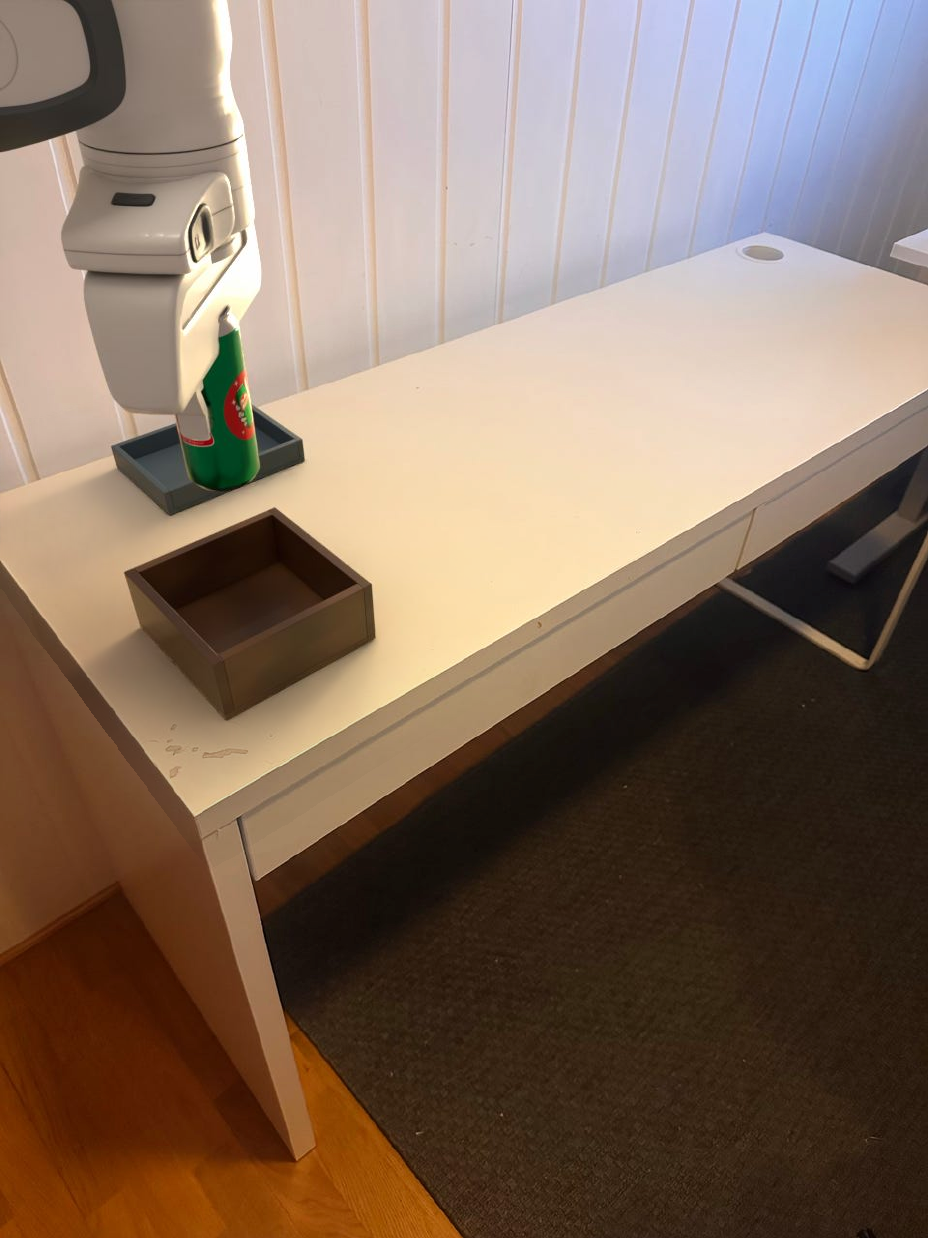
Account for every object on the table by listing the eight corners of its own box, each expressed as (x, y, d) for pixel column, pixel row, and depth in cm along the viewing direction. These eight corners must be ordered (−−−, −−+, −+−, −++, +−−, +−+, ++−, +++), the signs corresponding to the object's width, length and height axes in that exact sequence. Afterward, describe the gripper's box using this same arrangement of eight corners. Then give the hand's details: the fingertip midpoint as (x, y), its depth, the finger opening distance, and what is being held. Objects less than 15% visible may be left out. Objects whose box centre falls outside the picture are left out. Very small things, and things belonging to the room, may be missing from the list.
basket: (226, 721, 65) (212, 665, 61) (140, 626, 72) (123, 571, 69) (376, 638, 72) (372, 583, 68) (283, 559, 79) (274, 506, 75)
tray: (169, 515, 84) (164, 493, 82) (116, 467, 90) (110, 445, 89) (305, 460, 92) (302, 439, 90) (247, 419, 98) (244, 398, 96)
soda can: (175, 472, 64) (138, 306, 56) (238, 449, 66) (211, 287, 58) (210, 503, 61) (176, 333, 53) (274, 478, 63) (251, 312, 55)
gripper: (174, 141, 59) (209, 342, 68) (44, 248, 43) (112, 489, 53) (269, 145, 59) (291, 346, 68) (172, 253, 43) (218, 495, 52)
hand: (212, 410), depth 60 cm, fingers closed on soda can, 5 cm apart
